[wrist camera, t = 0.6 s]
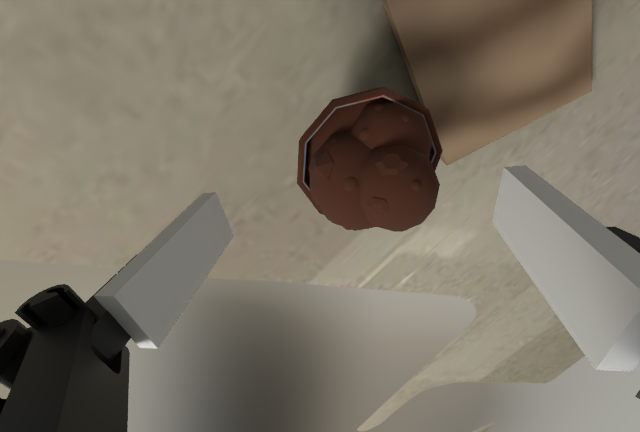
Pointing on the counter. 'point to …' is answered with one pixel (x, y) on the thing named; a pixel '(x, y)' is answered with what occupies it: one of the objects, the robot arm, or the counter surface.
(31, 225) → the counter surface
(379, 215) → the ice cream bowl
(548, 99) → the walnut board
